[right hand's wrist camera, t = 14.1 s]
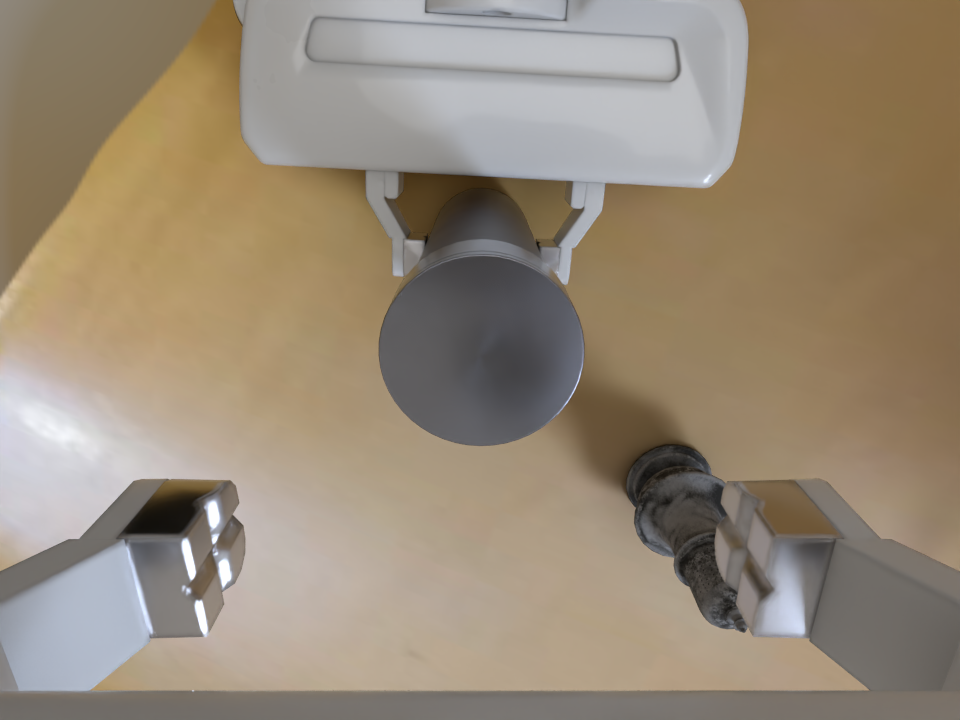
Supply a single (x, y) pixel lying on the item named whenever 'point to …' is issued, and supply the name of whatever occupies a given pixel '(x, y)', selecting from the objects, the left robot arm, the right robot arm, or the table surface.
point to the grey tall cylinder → (481, 221)
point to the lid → (481, 343)
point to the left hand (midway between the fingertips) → (481, 278)
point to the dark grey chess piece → (685, 524)
